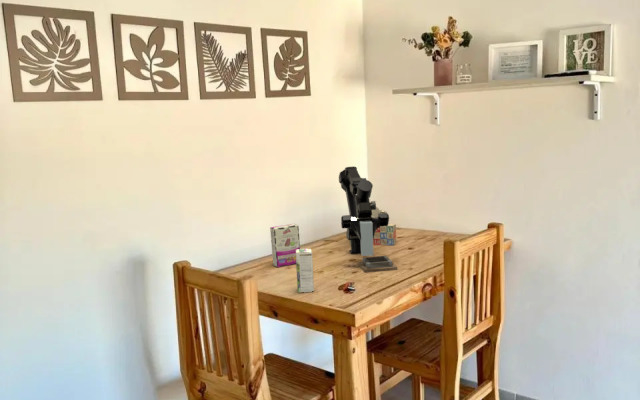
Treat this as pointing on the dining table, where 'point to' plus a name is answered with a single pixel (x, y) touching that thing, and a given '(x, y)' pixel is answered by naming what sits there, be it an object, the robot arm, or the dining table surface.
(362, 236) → the block
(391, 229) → the stack of blocks
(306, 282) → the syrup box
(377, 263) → the jig
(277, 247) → the candy bar box
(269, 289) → the dining table surface
